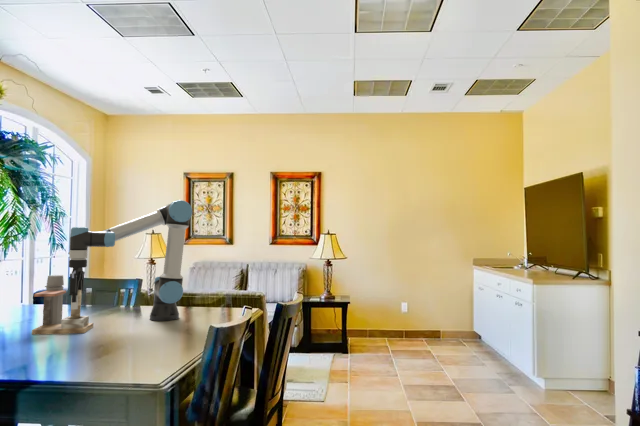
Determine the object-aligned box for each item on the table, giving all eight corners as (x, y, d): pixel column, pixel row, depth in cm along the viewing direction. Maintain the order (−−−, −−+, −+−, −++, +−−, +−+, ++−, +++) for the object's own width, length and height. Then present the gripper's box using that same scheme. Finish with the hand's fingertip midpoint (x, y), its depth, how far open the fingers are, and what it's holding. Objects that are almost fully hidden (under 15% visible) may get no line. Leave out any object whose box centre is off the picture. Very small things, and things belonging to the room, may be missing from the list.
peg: (81, 318, 206) (82, 289, 207) (78, 320, 203) (79, 290, 203) (72, 319, 206) (73, 289, 206) (69, 320, 202) (70, 290, 202)
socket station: (93, 327, 212) (94, 290, 213) (84, 332, 199) (86, 293, 200) (43, 328, 207) (45, 290, 208) (31, 334, 195) (33, 294, 196)
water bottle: (65, 325, 216) (67, 275, 217) (54, 328, 208) (56, 276, 209) (48, 324, 216) (51, 274, 218) (36, 327, 209) (39, 276, 210)
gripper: (75, 258, 213) (73, 305, 212) (62, 260, 197) (60, 311, 195) (92, 258, 215) (90, 305, 213) (80, 260, 198) (78, 311, 197)
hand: (75, 308), depth 204 cm, fingers closed on peg, 4 cm apart
